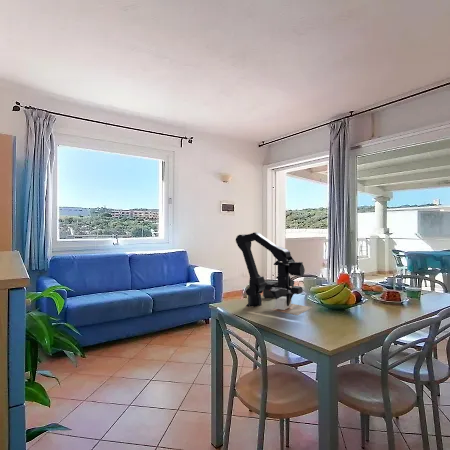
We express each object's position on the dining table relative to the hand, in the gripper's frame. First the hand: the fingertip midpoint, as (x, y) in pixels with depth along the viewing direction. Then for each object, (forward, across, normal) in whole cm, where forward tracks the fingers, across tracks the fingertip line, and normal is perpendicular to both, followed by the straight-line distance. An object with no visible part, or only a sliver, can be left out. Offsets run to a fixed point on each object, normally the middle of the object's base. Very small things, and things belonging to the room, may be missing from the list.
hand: (283, 305), depth 160 cm
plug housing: (+1, 0, -1) cm, 2 cm away
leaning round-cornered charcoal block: (+3, +17, -24) cm, 29 cm away
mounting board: (+3, -3, -4) cm, 5 cm away
